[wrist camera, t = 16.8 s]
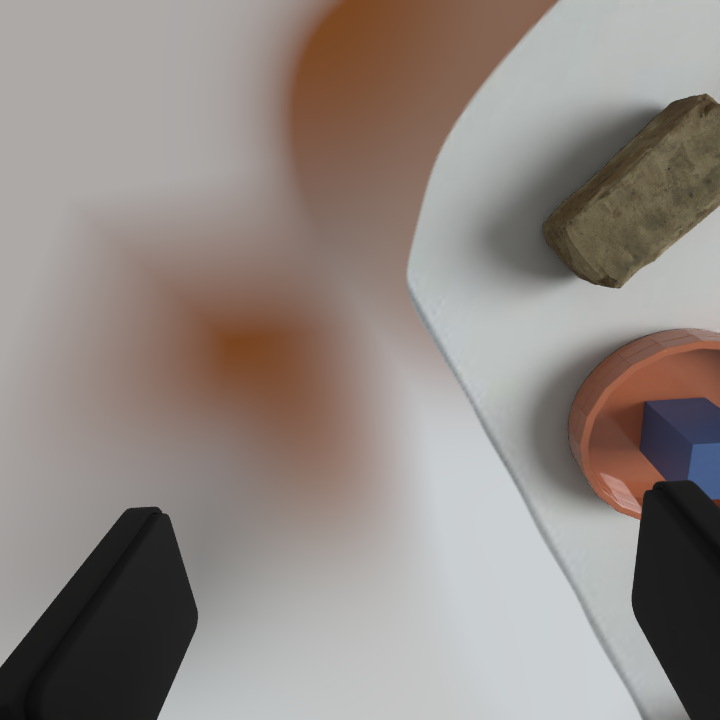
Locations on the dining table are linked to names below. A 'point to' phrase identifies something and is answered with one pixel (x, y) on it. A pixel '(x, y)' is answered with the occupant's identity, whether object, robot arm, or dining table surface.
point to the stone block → (642, 196)
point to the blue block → (684, 441)
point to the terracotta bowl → (637, 409)
